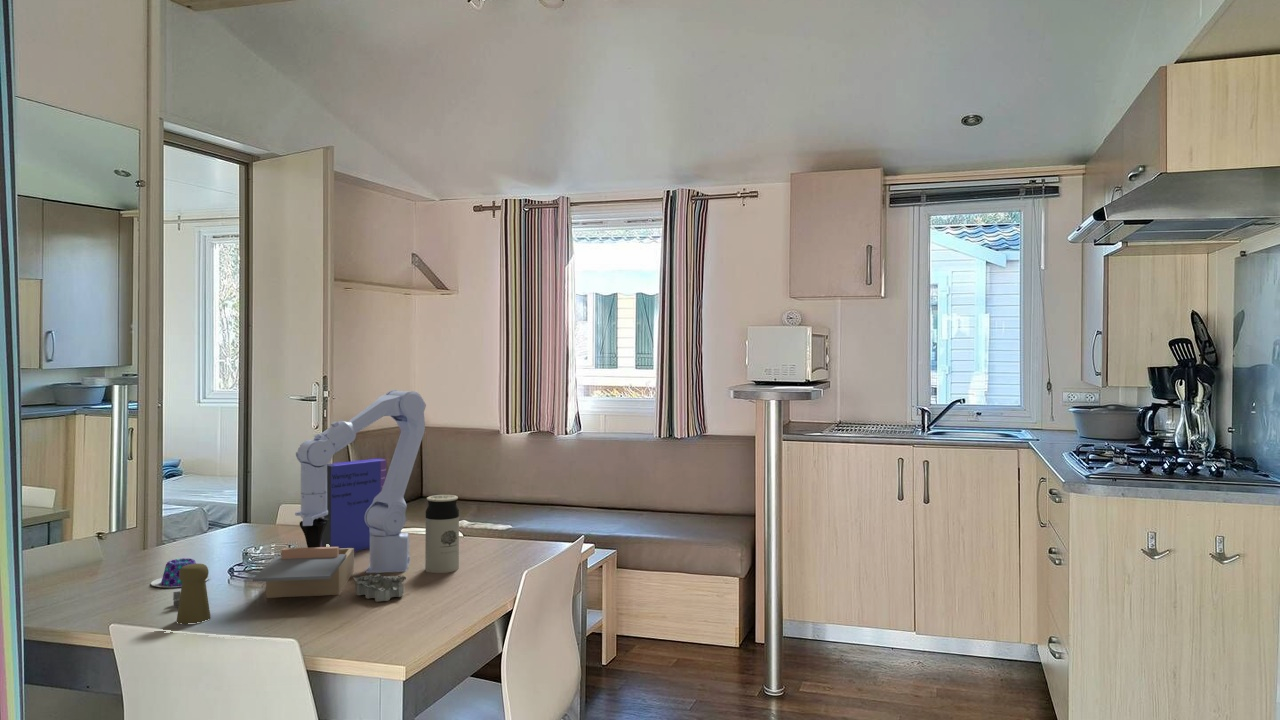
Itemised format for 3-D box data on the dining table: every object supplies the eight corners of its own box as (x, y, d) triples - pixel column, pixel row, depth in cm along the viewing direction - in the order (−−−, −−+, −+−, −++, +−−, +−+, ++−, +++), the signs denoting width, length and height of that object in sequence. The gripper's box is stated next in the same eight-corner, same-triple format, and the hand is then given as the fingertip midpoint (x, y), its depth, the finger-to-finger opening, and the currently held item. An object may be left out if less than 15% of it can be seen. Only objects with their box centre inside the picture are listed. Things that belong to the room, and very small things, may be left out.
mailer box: (353, 572, 207) (353, 548, 207) (338, 595, 187) (338, 568, 187) (288, 575, 204) (288, 550, 204) (266, 598, 185) (266, 570, 185)
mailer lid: (346, 556, 197) (346, 545, 197) (329, 578, 177) (329, 566, 177) (277, 558, 194) (277, 547, 194) (252, 581, 174) (252, 568, 174)
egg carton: (408, 595, 185) (408, 576, 185) (378, 604, 179) (377, 585, 179) (381, 584, 192) (381, 566, 192) (351, 593, 186) (350, 574, 186)
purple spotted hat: (141, 584, 197) (141, 561, 197) (194, 574, 206) (195, 552, 206) (165, 593, 189) (165, 569, 189) (219, 582, 199) (219, 559, 199)
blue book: (375, 543, 239) (375, 458, 239) (386, 546, 236) (386, 459, 236) (319, 555, 225) (320, 464, 225) (330, 557, 222) (331, 465, 222)
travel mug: (422, 568, 211) (422, 495, 211) (454, 565, 215) (455, 493, 215) (428, 576, 204) (429, 500, 204) (462, 572, 207) (462, 498, 207)
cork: (184, 615, 172) (184, 561, 172) (215, 615, 172) (215, 560, 172) (170, 625, 166) (170, 568, 166) (203, 624, 166) (203, 568, 166)
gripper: (302, 488, 203) (302, 545, 203) (288, 498, 189) (288, 559, 189) (333, 487, 205) (333, 544, 205) (321, 497, 190) (321, 558, 190)
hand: (314, 551), depth 197 cm, fingers closed
